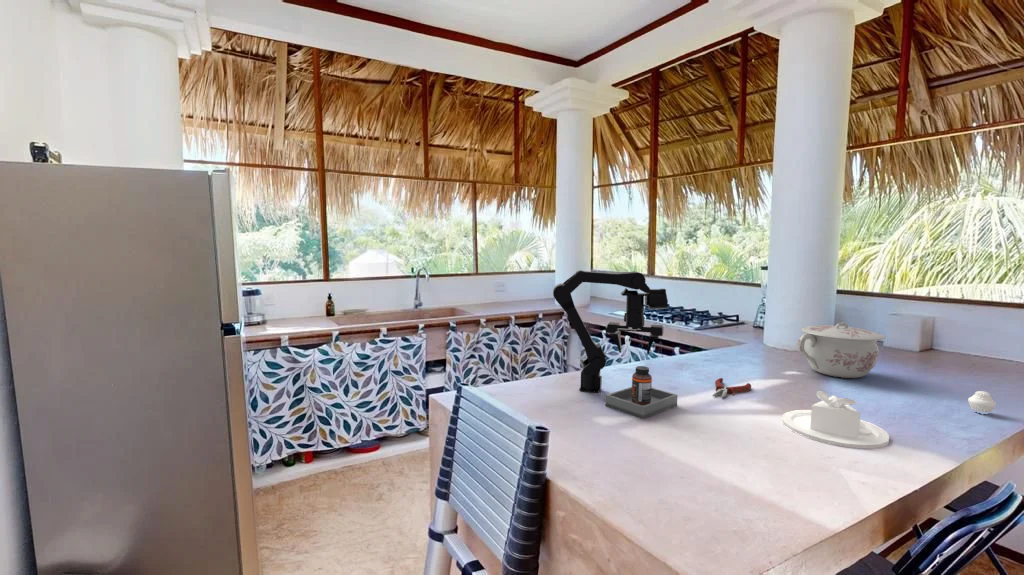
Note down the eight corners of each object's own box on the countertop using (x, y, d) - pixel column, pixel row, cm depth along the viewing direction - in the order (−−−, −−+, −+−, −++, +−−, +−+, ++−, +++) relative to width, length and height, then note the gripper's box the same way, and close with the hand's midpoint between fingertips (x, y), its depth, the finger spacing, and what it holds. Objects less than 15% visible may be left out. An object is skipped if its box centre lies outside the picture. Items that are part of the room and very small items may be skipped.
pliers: (699, 396, 162) (699, 388, 161) (718, 383, 177) (719, 376, 177) (735, 404, 154) (735, 396, 154) (752, 390, 170) (752, 382, 169)
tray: (605, 405, 150) (605, 394, 150) (639, 394, 161) (639, 384, 161) (643, 418, 139) (643, 407, 139) (676, 405, 151) (677, 394, 150)
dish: (896, 458, 116) (900, 413, 115) (779, 435, 129) (782, 394, 128) (883, 425, 137) (886, 387, 136) (783, 408, 150) (785, 373, 149)
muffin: (967, 408, 152) (969, 386, 151) (994, 413, 147) (997, 391, 147) (966, 412, 147) (968, 390, 147) (994, 418, 143) (997, 395, 142)
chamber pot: (877, 371, 194) (882, 321, 192) (885, 388, 171) (890, 331, 169) (797, 361, 209) (800, 314, 207) (795, 376, 186) (798, 323, 184)
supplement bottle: (628, 399, 153) (629, 365, 152) (646, 399, 154) (648, 364, 152) (635, 406, 147) (636, 370, 146) (653, 405, 148) (655, 369, 146)
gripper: (665, 306, 166) (664, 350, 168) (611, 304, 173) (610, 346, 175) (663, 311, 156) (661, 358, 158) (605, 308, 163) (605, 353, 164)
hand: (634, 353), depth 164 cm, fingers open, 9 cm apart
